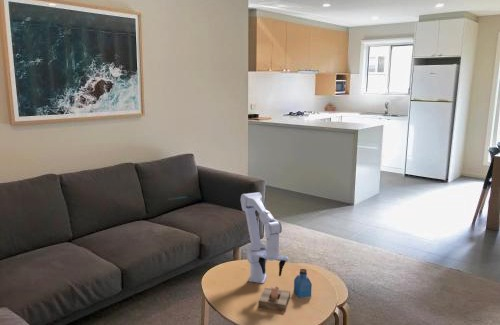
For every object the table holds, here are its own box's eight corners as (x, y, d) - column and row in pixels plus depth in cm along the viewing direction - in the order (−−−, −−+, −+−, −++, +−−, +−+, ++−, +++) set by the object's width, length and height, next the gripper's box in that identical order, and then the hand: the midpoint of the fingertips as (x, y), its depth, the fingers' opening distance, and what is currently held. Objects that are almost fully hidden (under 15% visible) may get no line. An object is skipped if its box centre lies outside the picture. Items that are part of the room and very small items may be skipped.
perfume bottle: (298, 298, 184) (299, 274, 182) (293, 291, 190) (294, 268, 188) (311, 296, 186) (312, 272, 184) (305, 289, 192) (306, 266, 189)
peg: (271, 300, 182) (272, 285, 181) (278, 300, 182) (278, 286, 180) (270, 303, 179) (270, 289, 178) (277, 304, 178) (277, 290, 177)
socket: (264, 293, 188) (265, 287, 187) (290, 297, 185) (290, 291, 184) (258, 307, 176) (258, 300, 176) (285, 311, 173) (285, 305, 173)
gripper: (255, 248, 181) (254, 275, 184) (286, 252, 178) (285, 280, 180) (259, 242, 188) (258, 269, 191) (289, 246, 184) (288, 273, 187)
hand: (272, 274), depth 186 cm, fingers open, 7 cm apart
